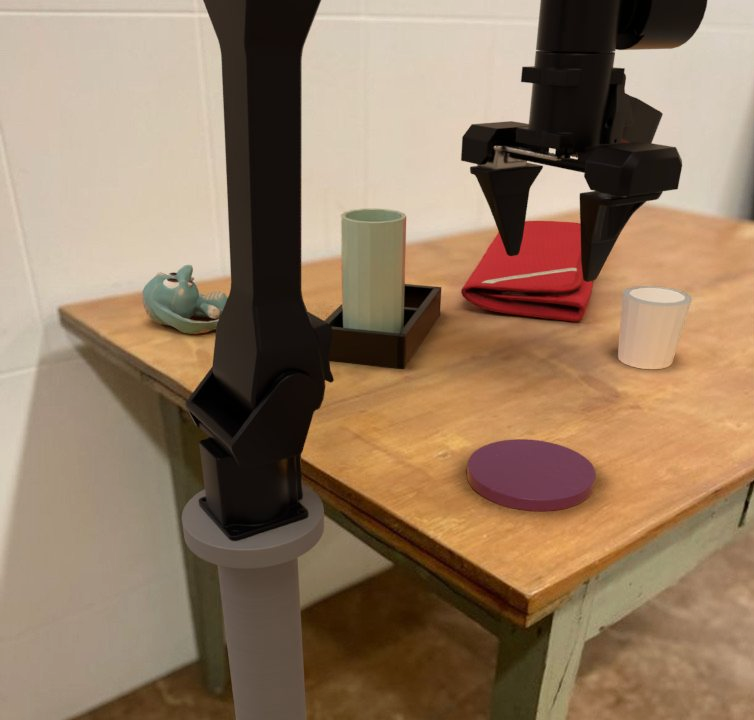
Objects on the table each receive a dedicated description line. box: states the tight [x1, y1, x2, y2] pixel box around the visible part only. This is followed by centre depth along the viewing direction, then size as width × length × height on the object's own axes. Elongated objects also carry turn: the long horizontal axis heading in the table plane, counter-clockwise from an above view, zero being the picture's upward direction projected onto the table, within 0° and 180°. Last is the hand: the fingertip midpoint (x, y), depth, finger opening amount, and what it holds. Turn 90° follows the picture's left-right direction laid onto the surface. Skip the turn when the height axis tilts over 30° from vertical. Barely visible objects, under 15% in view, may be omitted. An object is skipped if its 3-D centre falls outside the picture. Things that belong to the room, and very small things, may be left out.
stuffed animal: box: [141, 264, 228, 335], centre depth 94 cm, size 11×7×12 cm
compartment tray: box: [324, 283, 442, 370], centre depth 91 cm, size 18×9×4 cm, turn 164°
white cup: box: [617, 285, 693, 370], centre depth 85 cm, size 7×7×7 cm
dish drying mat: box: [460, 220, 594, 322], centre depth 114 cm, size 16×41×4 cm, turn 165°
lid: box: [466, 438, 597, 512], centre depth 64 cm, size 10×10×1 cm
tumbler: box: [340, 208, 407, 333], centre depth 85 cm, size 6×6×14 cm
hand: (549, 267), depth 68 cm, fingers open, 9 cm apart
